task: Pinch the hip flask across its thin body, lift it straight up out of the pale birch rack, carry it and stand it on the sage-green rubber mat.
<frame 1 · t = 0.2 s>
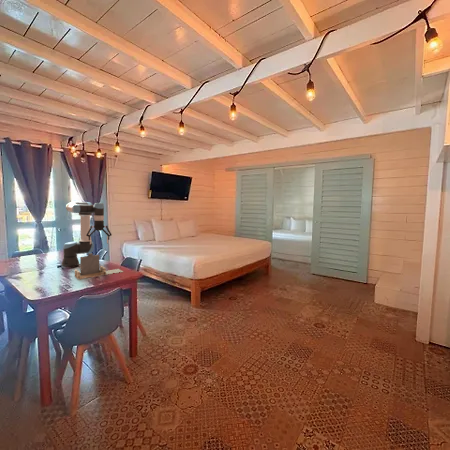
hand: (99, 243, 216), 28 cm above the table, fingers open, 13 cm apart
mat: (112, 271, 225), on the table
rack: (90, 275, 212), on the table
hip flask: (90, 275, 212), resting in rack
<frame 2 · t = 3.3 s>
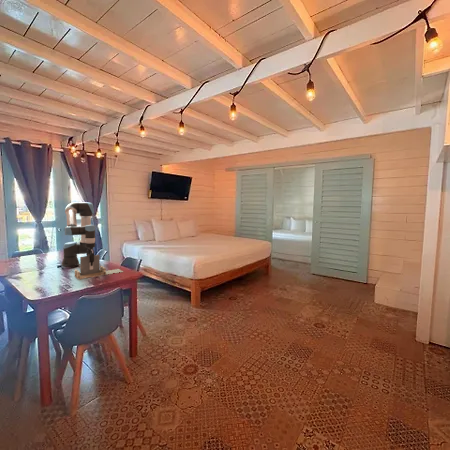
hand: (90, 268, 211), 6 cm above the table, fingers closed on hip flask, 4 cm apart
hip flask: (90, 275, 212), resting in rack, touching gripper
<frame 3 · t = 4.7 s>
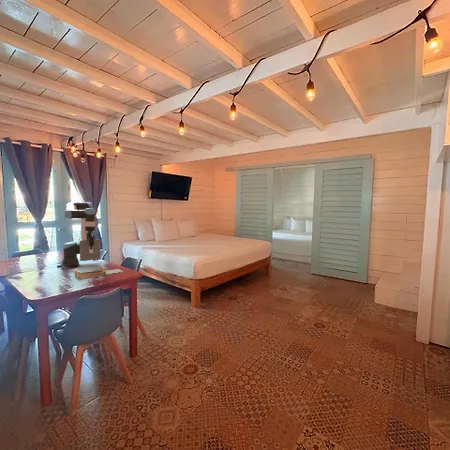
hand: (90, 252, 211), 21 cm above the table, fingers closed on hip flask, 4 cm apart
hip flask: (90, 259, 211), point 14 cm above the table, touching gripper
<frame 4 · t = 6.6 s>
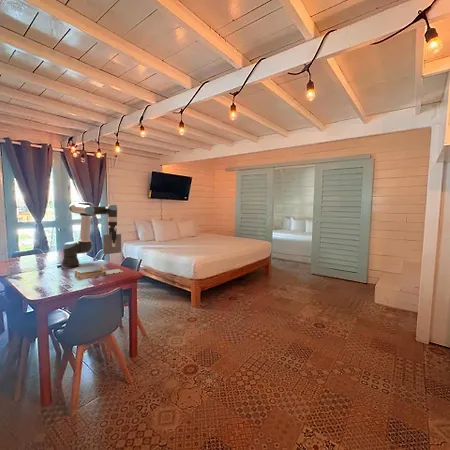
hand: (112, 246, 223), 25 cm above the table, fingers closed on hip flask, 4 cm apart
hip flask: (112, 253, 224), point 18 cm above the table, touching gripper
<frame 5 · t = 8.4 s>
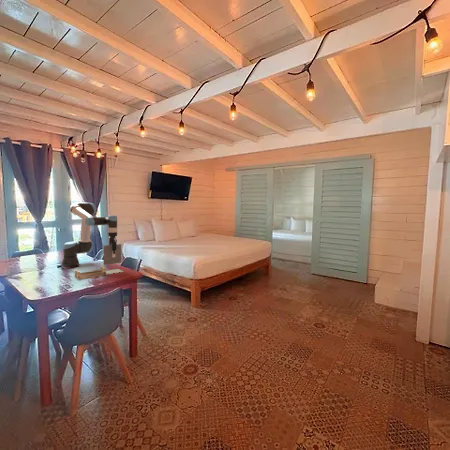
hand: (112, 256, 224), 15 cm above the table, fingers closed on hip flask, 4 cm apart
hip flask: (112, 263, 225), point 8 cm above the table, touching gripper
when the fingers open (8 cm above the table, at t = 10.0 s): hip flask stays where it is, resting on mat.
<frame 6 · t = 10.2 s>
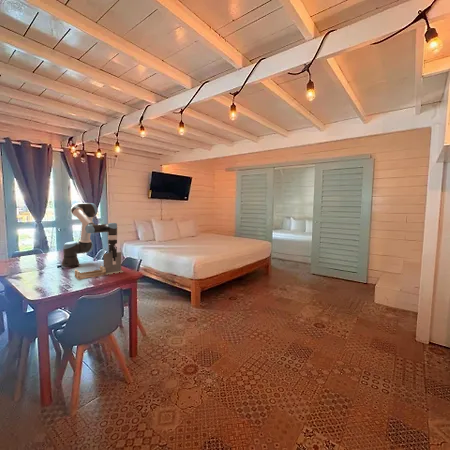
hand: (112, 263, 225), 8 cm above the table, fingers open, 7 cm apart
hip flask: (112, 271, 225), resting on mat
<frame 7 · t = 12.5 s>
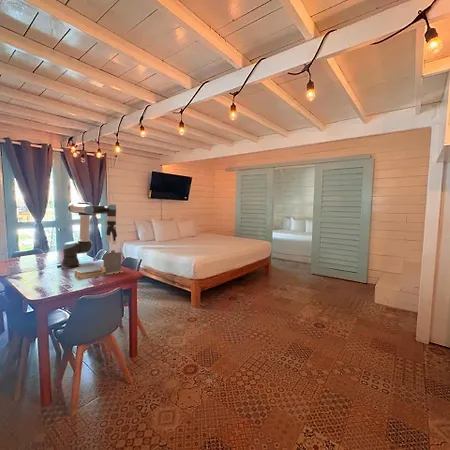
hand: (111, 243, 226), 27 cm above the table, fingers open, 13 cm apart
nothing on the table moved.
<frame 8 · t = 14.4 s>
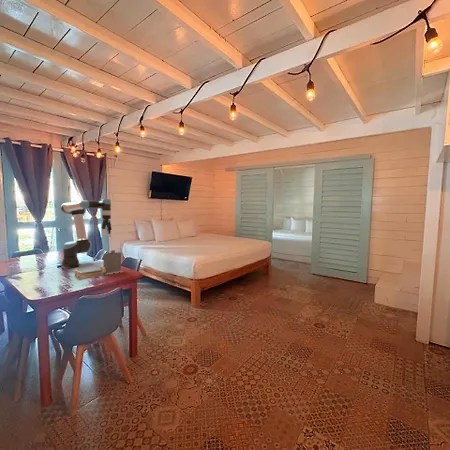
hand: (106, 236, 237), 32 cm above the table, fingers open, 13 cm apart
nothing on the table moved.
at the end: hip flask inside the target area on the mat (0.1 cm from its centre), point 0.3 cm above the mat's base; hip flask tilted 0°; the gripper is holding nothing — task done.
